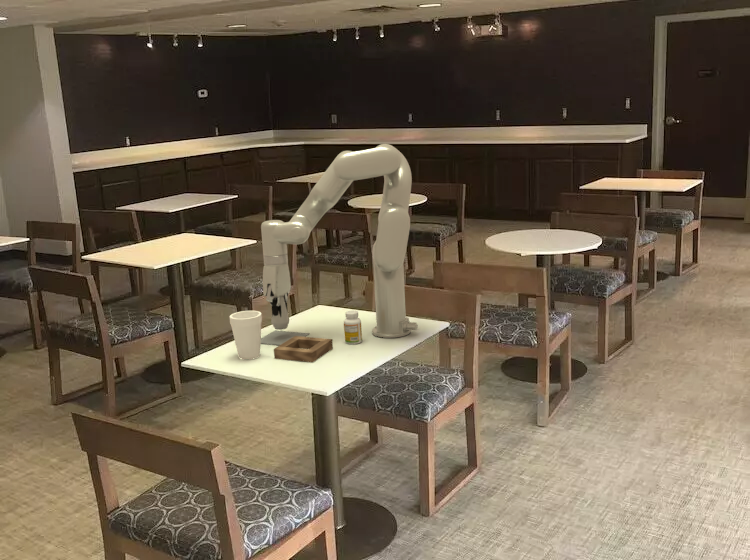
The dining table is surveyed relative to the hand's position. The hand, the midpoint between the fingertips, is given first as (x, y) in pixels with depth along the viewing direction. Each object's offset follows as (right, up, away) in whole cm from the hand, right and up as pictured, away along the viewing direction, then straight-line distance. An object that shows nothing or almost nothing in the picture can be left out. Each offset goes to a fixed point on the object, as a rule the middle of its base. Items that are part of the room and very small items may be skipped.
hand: (280, 315), depth 245 cm
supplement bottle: (+24, -8, -5) cm, 26 cm away
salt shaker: (0, -4, +1) cm, 4 cm away
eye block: (+9, -11, -13) cm, 19 cm away
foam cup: (-8, -12, -13) cm, 19 cm away
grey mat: (0, -8, +2) cm, 8 cm away
